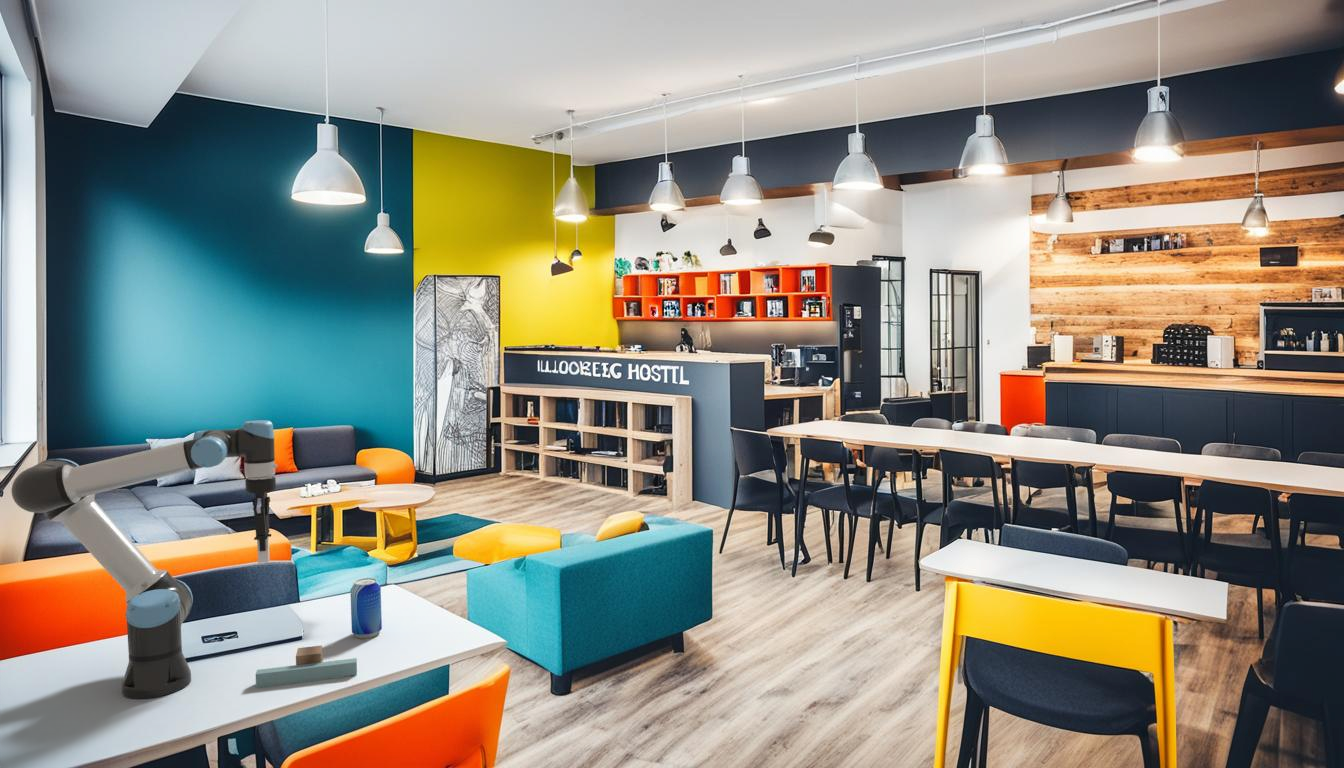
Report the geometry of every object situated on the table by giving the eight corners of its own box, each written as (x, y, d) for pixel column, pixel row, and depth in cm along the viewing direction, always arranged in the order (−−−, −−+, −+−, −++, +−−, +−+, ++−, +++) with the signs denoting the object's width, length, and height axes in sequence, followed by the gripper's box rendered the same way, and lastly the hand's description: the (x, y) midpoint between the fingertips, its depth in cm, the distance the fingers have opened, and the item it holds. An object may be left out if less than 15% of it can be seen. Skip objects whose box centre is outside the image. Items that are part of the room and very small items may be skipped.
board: (256, 687, 221) (255, 674, 221) (257, 683, 224) (257, 669, 224) (356, 675, 229) (356, 662, 228) (357, 670, 232) (356, 658, 231)
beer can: (362, 641, 253) (361, 587, 252) (346, 635, 258) (344, 582, 257) (387, 633, 259) (386, 580, 258) (371, 627, 265) (369, 575, 263)
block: (296, 678, 227) (295, 656, 226) (298, 670, 233) (297, 648, 232) (321, 675, 229) (320, 653, 228) (322, 667, 234) (322, 645, 234)
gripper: (272, 480, 234) (275, 566, 236) (278, 472, 247) (281, 554, 248) (241, 482, 232) (245, 569, 234) (248, 473, 244) (252, 556, 246)
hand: (263, 561), depth 241 cm, fingers closed
